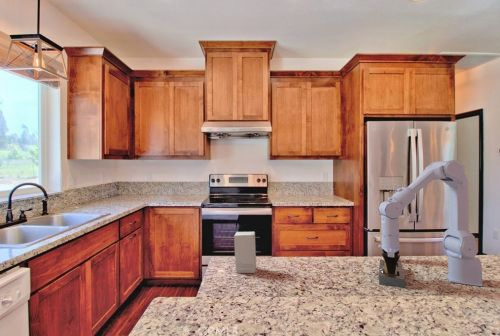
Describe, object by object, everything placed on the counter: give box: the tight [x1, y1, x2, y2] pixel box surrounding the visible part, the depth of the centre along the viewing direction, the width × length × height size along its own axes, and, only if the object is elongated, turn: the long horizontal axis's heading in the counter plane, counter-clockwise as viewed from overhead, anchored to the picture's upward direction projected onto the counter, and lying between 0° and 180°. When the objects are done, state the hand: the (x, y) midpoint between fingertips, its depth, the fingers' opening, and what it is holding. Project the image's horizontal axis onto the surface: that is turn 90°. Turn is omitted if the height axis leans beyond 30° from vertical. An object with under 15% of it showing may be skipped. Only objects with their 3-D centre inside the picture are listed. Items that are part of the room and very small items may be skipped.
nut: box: [384, 260, 397, 276], centre depth 98 cm, size 4×4×6 cm
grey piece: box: [378, 258, 406, 289], centre depth 103 cm, size 8×20×3 cm, turn 153°
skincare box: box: [233, 231, 257, 274], centre depth 111 cm, size 8×7×16 cm
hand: (391, 271), depth 98 cm, fingers closed on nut, 4 cm apart
